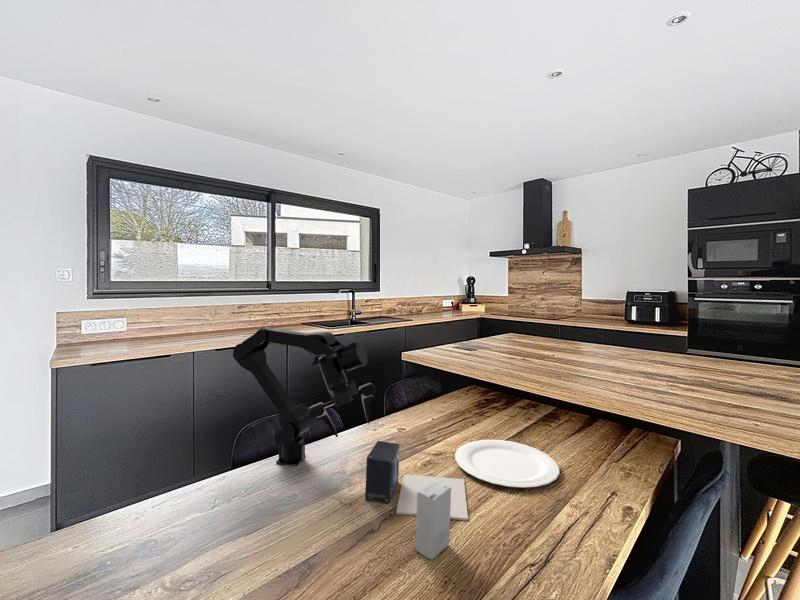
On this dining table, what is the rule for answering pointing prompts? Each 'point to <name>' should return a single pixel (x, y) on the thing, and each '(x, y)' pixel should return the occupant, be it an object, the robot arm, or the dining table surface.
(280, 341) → the robot arm
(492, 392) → the dining table surface
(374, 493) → the small box
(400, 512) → the mat
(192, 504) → the dining table surface
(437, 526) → the skincare box
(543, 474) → the plate
